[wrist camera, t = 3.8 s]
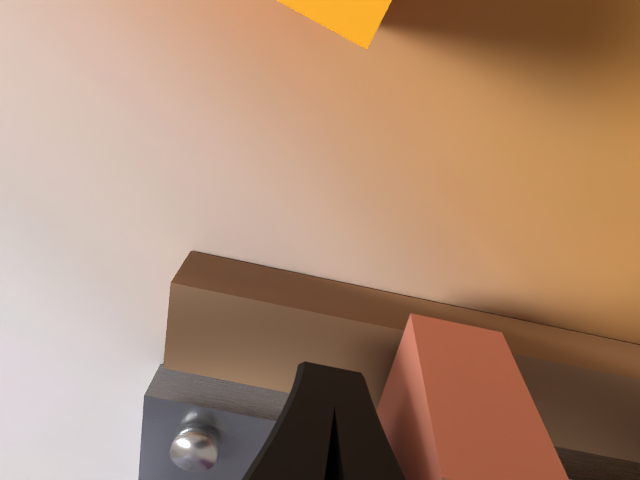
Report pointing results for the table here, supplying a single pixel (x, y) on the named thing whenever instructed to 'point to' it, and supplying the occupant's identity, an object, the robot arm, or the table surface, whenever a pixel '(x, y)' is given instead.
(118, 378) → the table surface
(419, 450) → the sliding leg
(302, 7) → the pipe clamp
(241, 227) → the table surface
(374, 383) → the trammel bar
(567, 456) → the strip
